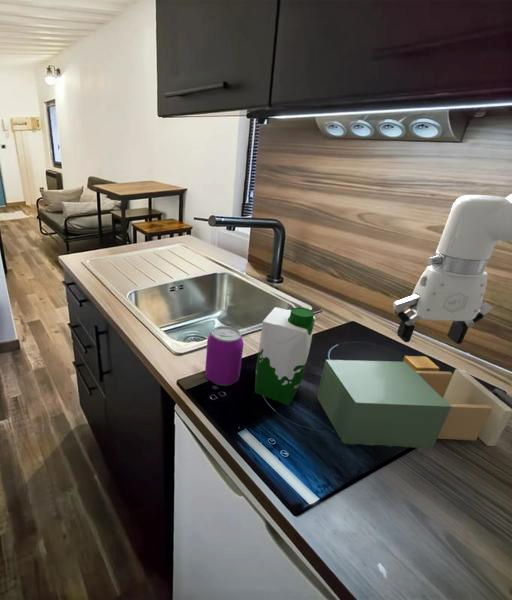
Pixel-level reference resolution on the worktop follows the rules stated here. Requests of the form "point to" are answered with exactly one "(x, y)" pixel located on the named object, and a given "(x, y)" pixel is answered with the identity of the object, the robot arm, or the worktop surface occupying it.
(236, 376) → the beverage can
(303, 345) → the milk carton
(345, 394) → the cabinet
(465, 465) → the worktop surface
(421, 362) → the block
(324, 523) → the worktop surface
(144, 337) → the worktop surface
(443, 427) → the drawer
